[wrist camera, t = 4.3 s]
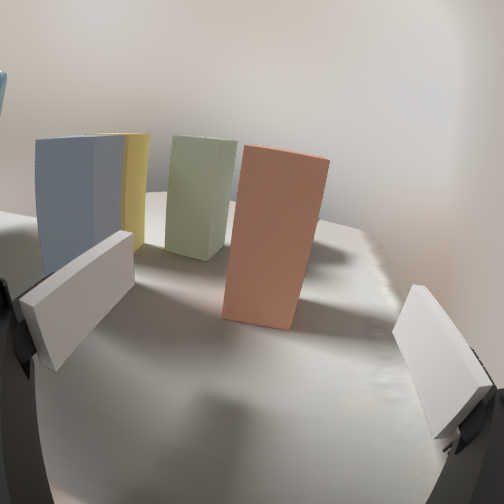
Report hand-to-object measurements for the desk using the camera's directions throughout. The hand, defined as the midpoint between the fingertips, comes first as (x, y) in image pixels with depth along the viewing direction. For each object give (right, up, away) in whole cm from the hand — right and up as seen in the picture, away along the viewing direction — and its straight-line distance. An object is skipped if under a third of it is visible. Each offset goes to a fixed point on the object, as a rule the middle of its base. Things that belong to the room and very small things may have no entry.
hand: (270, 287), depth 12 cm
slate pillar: (-14, -1, +8) cm, 17 cm away
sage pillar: (-7, +2, +19) cm, 20 cm away
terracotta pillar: (0, -3, +10) cm, 11 cm away
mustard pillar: (-15, +2, +16) cm, 22 cm away
